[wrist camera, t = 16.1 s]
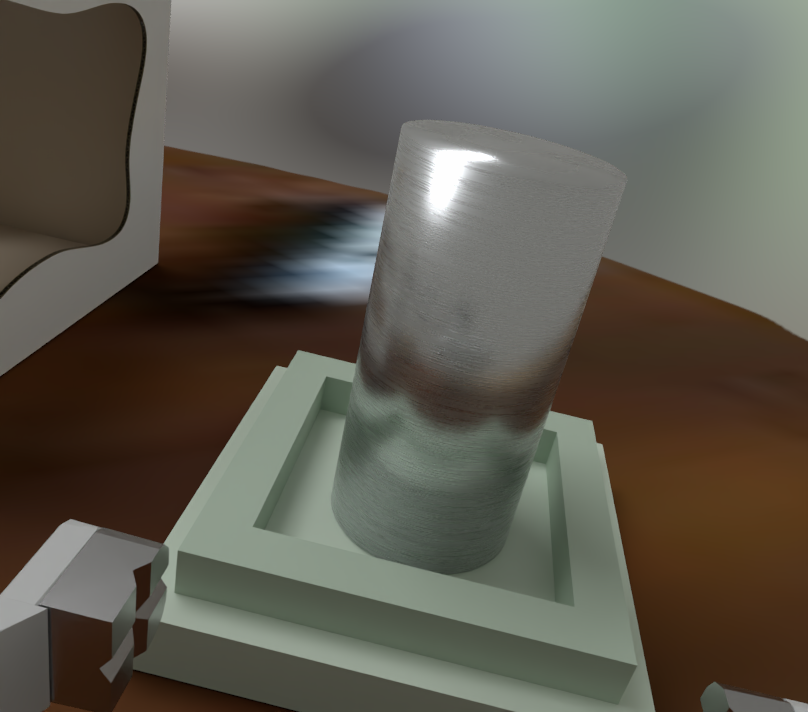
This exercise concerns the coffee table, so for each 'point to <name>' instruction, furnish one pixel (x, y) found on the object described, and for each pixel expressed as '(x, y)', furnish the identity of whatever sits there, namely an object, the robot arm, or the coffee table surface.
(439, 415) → the brushed metal cylinder
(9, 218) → the gable box
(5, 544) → the coffee table surface
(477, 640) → the plate
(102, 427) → the coffee table surface
